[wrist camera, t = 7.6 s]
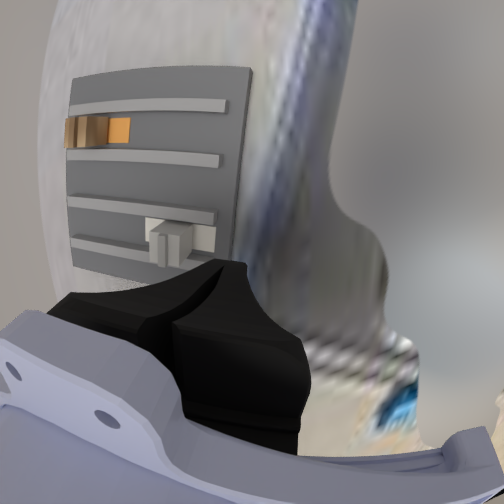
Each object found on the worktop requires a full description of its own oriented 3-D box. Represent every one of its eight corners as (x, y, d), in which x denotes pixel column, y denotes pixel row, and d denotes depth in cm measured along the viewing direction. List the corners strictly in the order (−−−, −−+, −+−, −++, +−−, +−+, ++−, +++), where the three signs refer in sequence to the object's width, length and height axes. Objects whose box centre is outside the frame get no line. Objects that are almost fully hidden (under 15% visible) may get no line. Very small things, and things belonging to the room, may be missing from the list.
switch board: (227, 291, 22) (221, 306, 20) (80, 260, 23) (66, 270, 21) (252, 71, 16) (247, 63, 14) (81, 80, 17) (64, 77, 15)
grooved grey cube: (191, 252, 20) (176, 269, 17) (164, 247, 20) (146, 264, 17) (192, 223, 19) (177, 238, 16) (165, 220, 19) (146, 233, 16)
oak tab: (106, 144, 18) (81, 147, 15) (85, 144, 18) (60, 148, 15) (108, 116, 17) (83, 116, 14) (87, 118, 17) (61, 118, 14)
